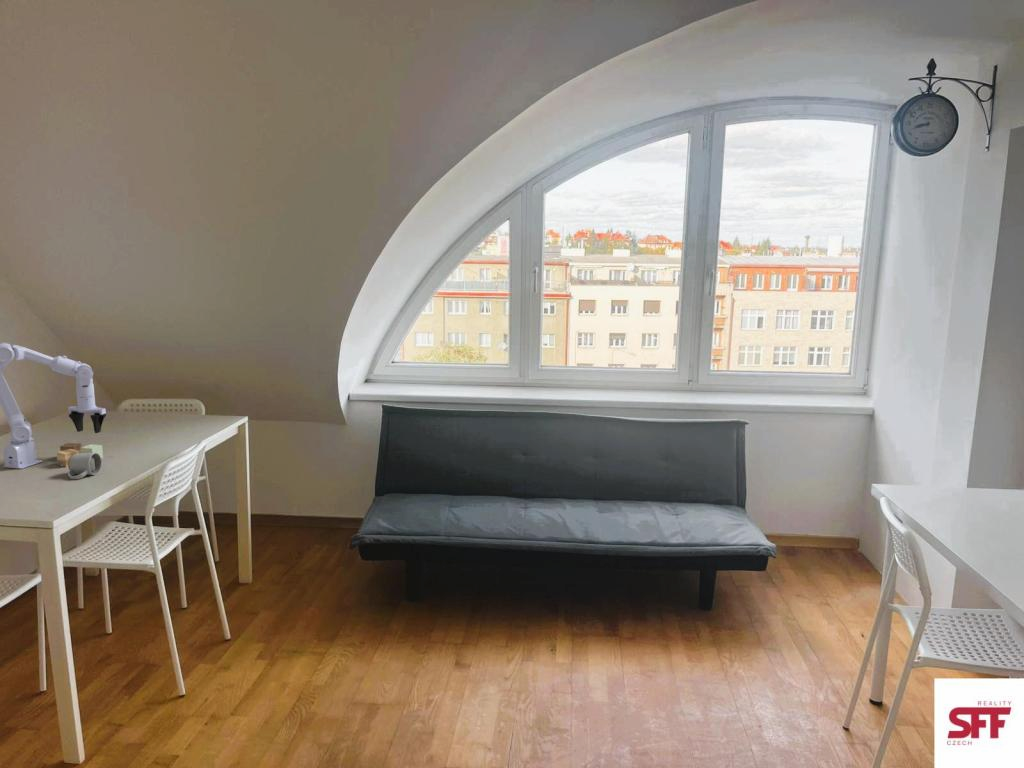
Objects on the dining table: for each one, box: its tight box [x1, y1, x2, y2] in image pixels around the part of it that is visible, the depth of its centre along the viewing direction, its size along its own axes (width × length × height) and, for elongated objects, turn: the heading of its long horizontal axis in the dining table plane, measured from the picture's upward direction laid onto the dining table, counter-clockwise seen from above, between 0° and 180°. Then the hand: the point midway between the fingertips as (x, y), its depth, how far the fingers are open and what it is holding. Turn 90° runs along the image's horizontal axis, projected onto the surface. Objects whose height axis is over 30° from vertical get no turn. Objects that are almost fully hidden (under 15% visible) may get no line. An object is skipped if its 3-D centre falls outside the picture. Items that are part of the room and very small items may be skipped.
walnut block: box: [59, 442, 83, 454], centre depth 279 cm, size 5×5×5 cm
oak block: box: [56, 449, 79, 468], centre depth 270 cm, size 5×5×5 cm
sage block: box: [81, 443, 104, 459], centre depth 277 cm, size 5×5×5 cm
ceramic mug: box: [67, 453, 103, 480], centre depth 258 cm, size 11×8×8 cm
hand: (88, 431), depth 280 cm, fingers open, 7 cm apart
